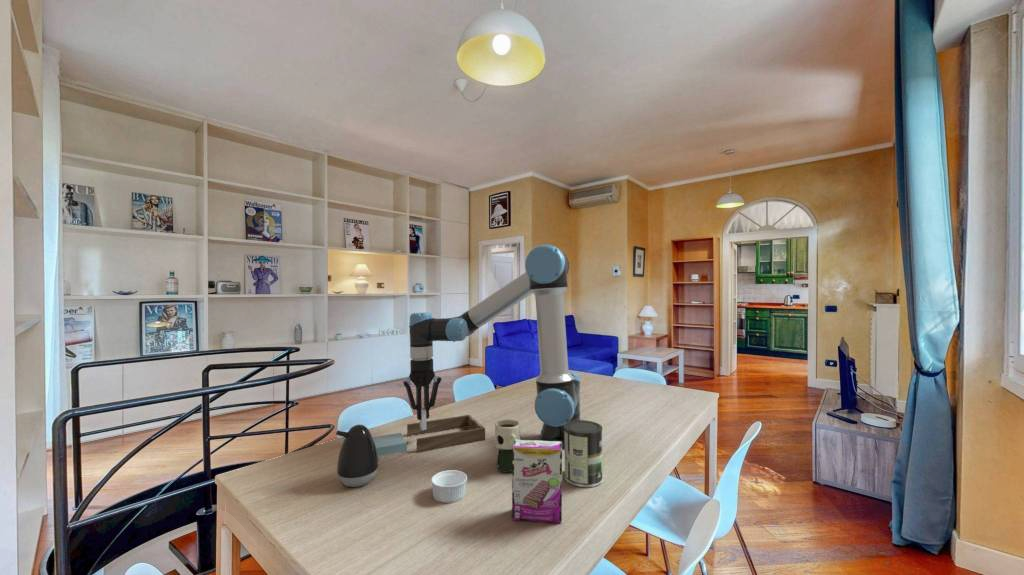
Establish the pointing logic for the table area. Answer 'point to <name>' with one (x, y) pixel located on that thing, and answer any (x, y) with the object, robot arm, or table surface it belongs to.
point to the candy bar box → (537, 481)
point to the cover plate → (390, 444)
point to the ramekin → (449, 486)
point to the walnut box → (451, 438)
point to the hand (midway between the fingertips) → (423, 428)
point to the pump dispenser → (357, 457)
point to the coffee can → (583, 453)
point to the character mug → (506, 442)
